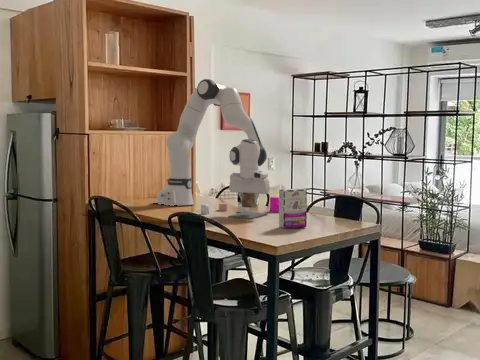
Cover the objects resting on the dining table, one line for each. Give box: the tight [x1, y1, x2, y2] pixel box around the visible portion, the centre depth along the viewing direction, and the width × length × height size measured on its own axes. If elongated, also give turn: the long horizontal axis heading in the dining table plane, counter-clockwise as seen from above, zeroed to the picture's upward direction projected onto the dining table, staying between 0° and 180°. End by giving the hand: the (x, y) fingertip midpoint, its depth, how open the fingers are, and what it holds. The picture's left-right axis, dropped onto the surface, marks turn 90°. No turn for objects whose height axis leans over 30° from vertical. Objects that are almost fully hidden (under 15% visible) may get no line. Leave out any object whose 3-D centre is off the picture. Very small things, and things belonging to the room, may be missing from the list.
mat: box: [227, 211, 268, 221], centre depth 260 cm, size 12×18×1 cm, turn 152°
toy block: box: [269, 196, 279, 214], centre depth 281 cm, size 15×6×8 cm, turn 126°
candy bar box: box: [278, 187, 308, 230], centre depth 231 cm, size 11×5×16 cm, turn 114°
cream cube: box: [238, 203, 251, 213], centre depth 274 cm, size 4×4×4 cm
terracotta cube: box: [218, 202, 228, 212], centre depth 277 cm, size 4×4×4 cm
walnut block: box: [241, 193, 257, 209], centre depth 260 cm, size 5×5×6 cm
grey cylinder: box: [200, 203, 210, 215], centre depth 264 cm, size 4×4×5 cm
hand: (248, 202), depth 260 cm, fingers closed on walnut block, 5 cm apart
